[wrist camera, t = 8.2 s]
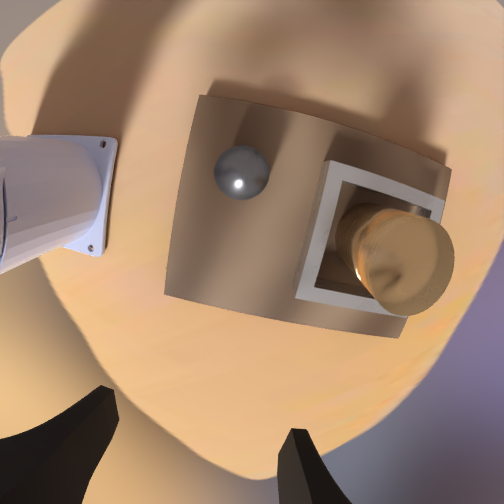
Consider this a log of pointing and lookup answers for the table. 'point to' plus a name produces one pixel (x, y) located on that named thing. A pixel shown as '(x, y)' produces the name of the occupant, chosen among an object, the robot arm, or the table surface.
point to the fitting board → (287, 213)
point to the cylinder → (396, 256)
